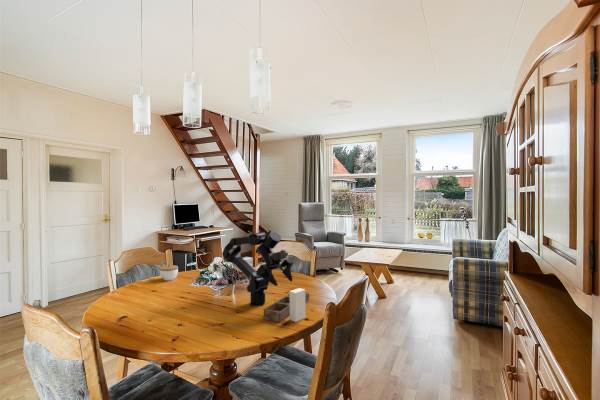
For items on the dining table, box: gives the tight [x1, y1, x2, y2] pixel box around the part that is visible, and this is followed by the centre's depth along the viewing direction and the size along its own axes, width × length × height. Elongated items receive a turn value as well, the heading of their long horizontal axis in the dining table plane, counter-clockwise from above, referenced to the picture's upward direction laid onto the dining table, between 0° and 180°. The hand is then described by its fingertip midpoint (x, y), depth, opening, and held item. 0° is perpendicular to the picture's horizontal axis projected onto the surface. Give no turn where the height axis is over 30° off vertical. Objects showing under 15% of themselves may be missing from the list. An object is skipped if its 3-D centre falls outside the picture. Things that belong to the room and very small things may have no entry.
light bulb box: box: [234, 256, 254, 272], centre depth 201 cm, size 11×7×11 cm, turn 141°
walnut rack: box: [263, 291, 310, 323], centre depth 139 cm, size 8×29×4 cm, turn 154°
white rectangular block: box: [289, 287, 306, 323], centre depth 128 cm, size 4×6×12 cm, turn 137°
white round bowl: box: [159, 264, 179, 282], centre depth 189 cm, size 11×11×9 cm
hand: (284, 283), depth 133 cm, fingers open, 9 cm apart
